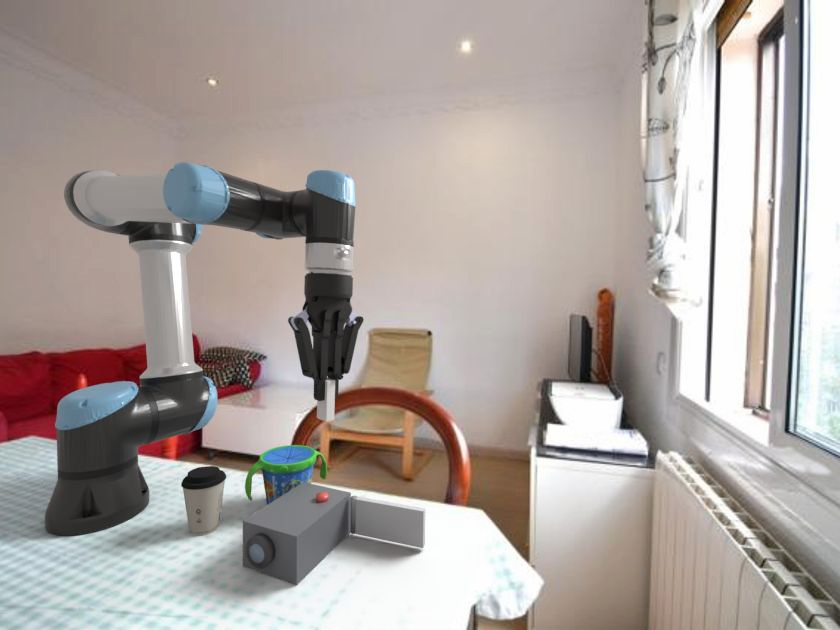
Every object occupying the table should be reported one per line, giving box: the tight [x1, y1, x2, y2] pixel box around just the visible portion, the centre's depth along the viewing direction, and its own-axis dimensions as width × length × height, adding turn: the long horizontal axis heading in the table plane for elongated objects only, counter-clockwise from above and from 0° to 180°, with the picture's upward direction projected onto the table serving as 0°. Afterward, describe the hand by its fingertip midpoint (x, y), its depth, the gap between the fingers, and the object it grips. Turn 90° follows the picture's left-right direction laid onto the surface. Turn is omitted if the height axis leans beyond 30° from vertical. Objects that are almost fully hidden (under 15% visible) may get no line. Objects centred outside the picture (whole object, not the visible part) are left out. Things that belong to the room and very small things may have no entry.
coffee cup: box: [180, 465, 227, 537], centre depth 70 cm, size 7×7×10 cm
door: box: [349, 495, 426, 549], centre depth 67 cm, size 2×13×6 cm, turn 72°
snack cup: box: [244, 444, 328, 506], centre depth 78 cm, size 16×10×10 cm
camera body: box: [242, 482, 352, 586], centre depth 64 cm, size 10×15×8 cm, turn 158°
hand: (325, 418), depth 65 cm, fingers closed
